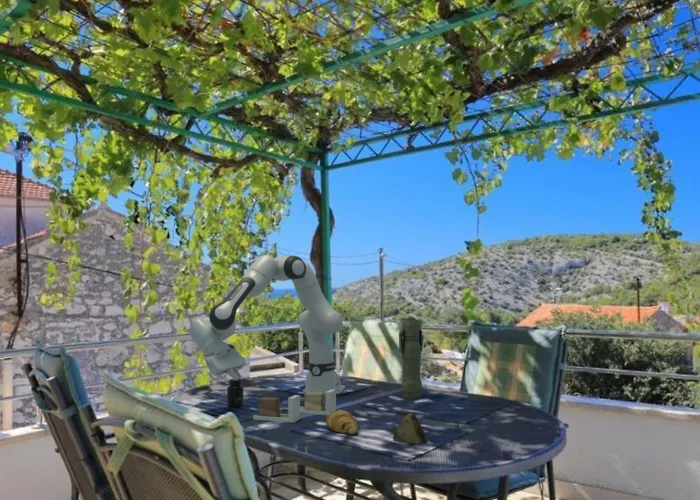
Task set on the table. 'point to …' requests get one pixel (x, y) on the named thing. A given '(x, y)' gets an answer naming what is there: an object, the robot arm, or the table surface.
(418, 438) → the rock
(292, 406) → the grey l-shaped bracket
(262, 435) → the table surface
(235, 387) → the supplement bottle
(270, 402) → the brown wooden block
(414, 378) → the thermos
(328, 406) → the white l-shaped piece
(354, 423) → the croissant
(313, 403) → the tan wooden block
